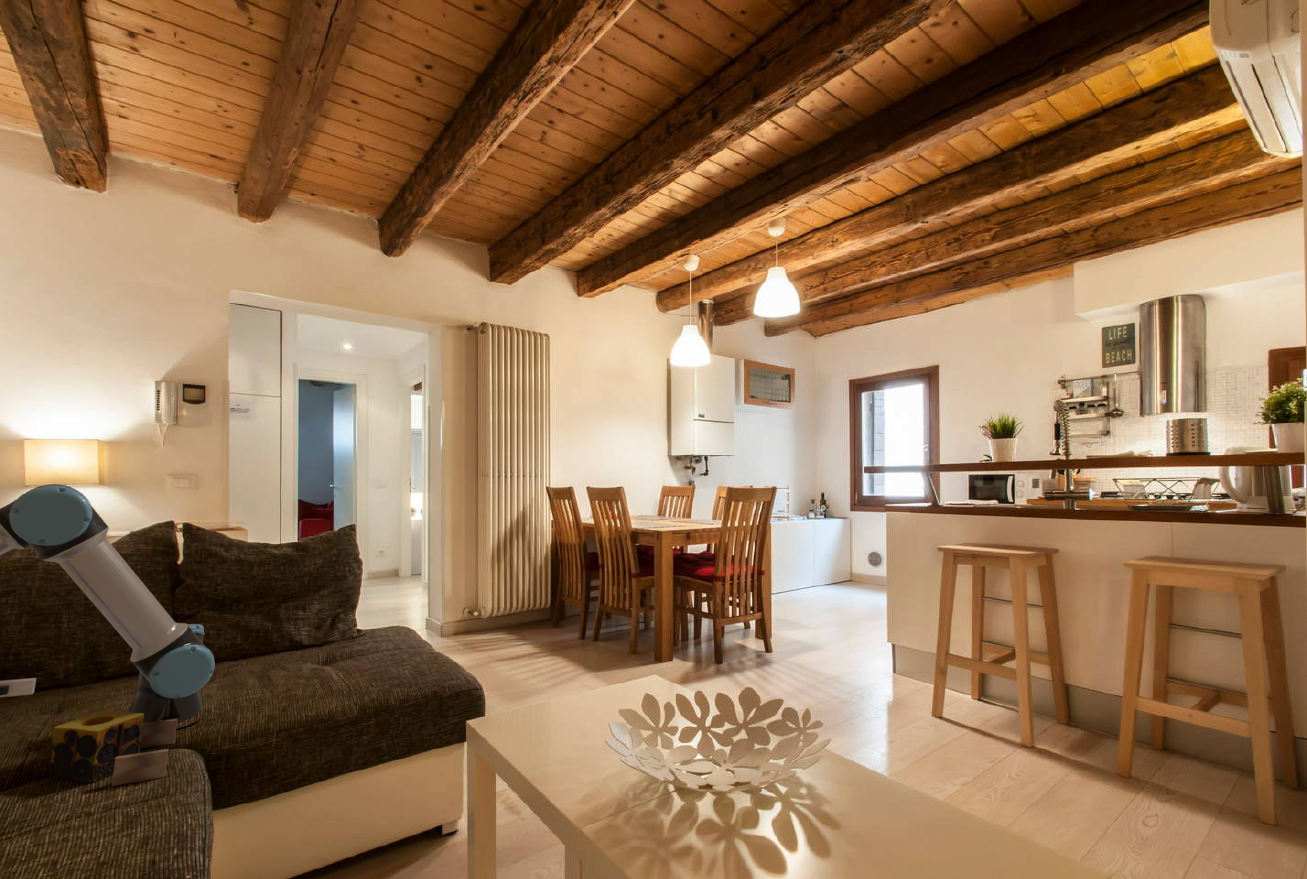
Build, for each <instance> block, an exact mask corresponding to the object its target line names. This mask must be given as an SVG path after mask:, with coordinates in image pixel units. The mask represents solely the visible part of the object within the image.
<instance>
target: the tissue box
mask: <svg viewBox="0 0 1307 879" xmlns="http://www.w3.org/2000/svg"><path fill="white" fill-rule="evenodd" d="M143 718H144V713H131V712H129V711H128V712H127V711H119V710H118V711H115V710H99V711H95V712H93V713H89V714H87V715H84V716H81V717H79V718H77V719H76V718H75V719H73V720H70V721H68V722H66V723H62V724H59V725H57V726H55V727H54V728H53V733H52V743H51V744H52V747H51V748H52V750H51V761H50V763H49V768H48V769H49V772H48V775H47V776H48V778H49V779H53V780H60V781H61V780H62V781H72V782H81V781H82V783H96V782H99V781H100V779H101V780H103V779H104V778H107V777H110V776H113V774H114V766H115V759H116V757H117V756H124V755H131V754H137V753H142V751H141V749H142V748H141V745H142V743H141V738H140V730H141V727H142V722H143ZM102 778H103V779H102ZM98 780H99V781H98Z"/></svg>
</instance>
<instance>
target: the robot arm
mask: <svg viewBox="0 0 1307 879" xmlns="http://www.w3.org/2000/svg"><path fill="white" fill-rule="evenodd" d="M109 529H110V527H109V525H108V524H107V523H106V522H105V521H104V519H103V518H102V517H101V516H100V514H99V513H98V512H97V511H96V509H95V508H94V507H93V506H92V504H91V502H90V500H89V499H88V498H87V496H85V495H84V494H83V493H82V492H81V491H79V490H77V489H76V488H73V487H71V486H68V485H66V484H59V483H58V484H57V483H55V484H43V485H39V486H37V487H34V488H32V489H30V490H28V491H26V492H25V493H22V494H21V495H20V496H19V497H17V499H15V500H14V501H12V502H10V503H8V504H7V505H4V506H2V507H0V556H2V555H4V554H6V553H7V552H10V551H11V550H24V549H27V548H29V547H31V548H32V550H34V552H35V553H36V554H37V555H38V556H39V558H41V560H42V561H44V562H51V563H57V564H59V566H60V567H61V568H62V569H63V570H64V571H65V572H66V574H67V575H68V576H69V577H70V579H72V581H73V582H74V583H75V585H77V586H78V588H79V589H80V590H81V591H82V592H83V594H84V595H86V597H87V598H88V599H89V601H90V602H91V603H93V606H95V607H96V609H98V611H99V612H100V613H101V615H103V616H104V618H105V619H106V620H107V621H108V622H109V623H110V625H111V626H112V627H113V628H114V629H115V631H117V633H118V634H119V635H120V636H121V637H122V638H123V640H124V641H125V642H126V643H127V644H128V645H129V647H130V648H131V649H132V652H131V654H130V658H129V660H130V662H131V663H132V664H133V665H134V666H135V668H137V670H138V671H139V675H138V684H137V685H138V686H137V692H136V695H135V697H134V700H133V701H132V703H131V705H130V708H129V709H128V712H131V713H144V718H143V722H142V723H148V722H155V721H163V720H171V719H177V724H179V723H181V722H183V721H185V720H187V719H190V718H192V717H193V716H195V715H196V714H197V713H200V711H201V710H202V709H203V707H204V705H203V703H202V698H201V693H200V690H201V689H202V688H203V687H204V686H205V685H206V684H207V683H208V682H209V681H210V680H211V679H212V678H211V677H212V676H213V674H214V671H215V667H216V666H215V664H216V663H215V662H216V661H215V656H214V654H213V652H212V651H211V650H210V649H209V648H208V647H207V646H206V645H205V644H204V642H203V641H204V640H203V639H204V636H205V630H204V629H205V627H204V626H203V625H202V624H199V623H191V624H188V623H185V622H184V623H182V622H176V621H175V620H174V619H173V618H172V617H171V615H170V614H169V613H168V611H167V610H165V608H164V607H163V605H162V604H161V603H160V602H159V601H158V600H157V599H156V597H155V596H154V595H153V593H152V592H151V591H150V590H149V589H148V587H147V586H146V585H145V584H144V583H143V581H142V580H141V579H140V577H139V576H138V575H137V574H136V573H135V571H134V570H133V569H132V567H130V565H129V564H128V563H127V561H125V559H124V558H123V557H122V555H121V554H120V553H119V552H118V551H117V549H116V548H115V547H114V545H113V544H112V543H111V542H110V541H109V540H108V538H107V535H108V533H109ZM36 682H37V677H32V678H29V677H28V678H19V679H17V678H16V679H7V680H6V679H5V680H0V698H6V697H18V696H29V695H33V694H34V693H35V688H36V684H37V683H36Z"/></svg>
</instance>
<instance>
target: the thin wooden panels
mask: <svg viewBox="0 0 1307 879" xmlns="http://www.w3.org/2000/svg"><path fill="white" fill-rule="evenodd" d="M176 726H177V719H171V720H163V721H155V722H148V723H142V727H141V730H140V738H141V743H142V745H141V749H144V748H145V749H146V748H152V747H159V746H160V747H161V746H165V745H173V744H175V742H176V732H177V730H176ZM168 755H169V748H165V749H159V750H151V751H146V752H140V753H137V754H131V755H124V756H117V757H116V759H115V766H114V774H112V784H111V786H112V787H114V786H118V785H119V786H120V785H126V784H132V783H138V782H143V781H150V780H155V779H161V778H165V776H166V773H167V772H166V770H167V765H168V764H167V763H168Z"/></svg>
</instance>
